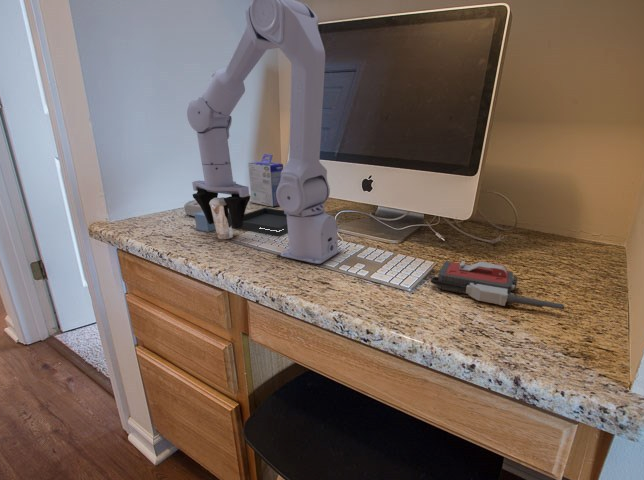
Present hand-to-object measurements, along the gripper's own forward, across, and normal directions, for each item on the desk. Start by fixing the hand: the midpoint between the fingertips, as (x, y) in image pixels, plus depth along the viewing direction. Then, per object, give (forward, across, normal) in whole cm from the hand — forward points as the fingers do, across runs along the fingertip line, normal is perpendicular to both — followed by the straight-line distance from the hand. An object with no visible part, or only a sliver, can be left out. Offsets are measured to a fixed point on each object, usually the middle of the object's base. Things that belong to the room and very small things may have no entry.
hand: (225, 225), depth 84 cm
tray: (+3, -2, -13) cm, 13 cm away
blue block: (+3, +9, -3) cm, 10 cm away
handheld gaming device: (+3, +17, -12) cm, 21 cm away
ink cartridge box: (+3, +13, -30) cm, 33 cm away
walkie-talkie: (+3, -59, +1) cm, 59 cm away
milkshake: (+3, 0, 0) cm, 3 cm away
